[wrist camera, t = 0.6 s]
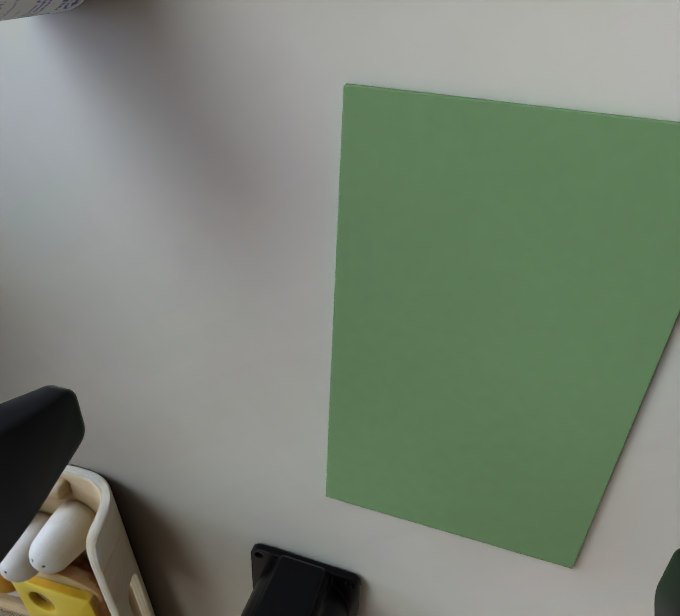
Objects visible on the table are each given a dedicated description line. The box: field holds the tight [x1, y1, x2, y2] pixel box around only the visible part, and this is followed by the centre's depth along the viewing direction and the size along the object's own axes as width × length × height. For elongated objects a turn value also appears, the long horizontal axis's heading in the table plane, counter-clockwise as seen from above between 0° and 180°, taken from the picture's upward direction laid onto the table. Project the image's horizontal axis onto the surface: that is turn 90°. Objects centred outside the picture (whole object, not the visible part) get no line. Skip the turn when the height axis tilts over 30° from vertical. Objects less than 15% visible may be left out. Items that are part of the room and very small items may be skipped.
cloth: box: [326, 84, 680, 568], centre depth 23 cm, size 20×12×1 cm, turn 178°
